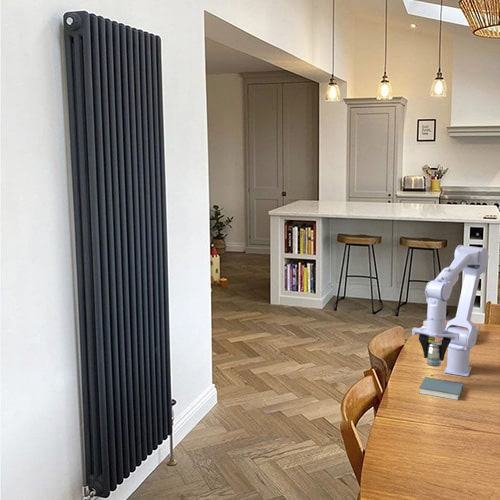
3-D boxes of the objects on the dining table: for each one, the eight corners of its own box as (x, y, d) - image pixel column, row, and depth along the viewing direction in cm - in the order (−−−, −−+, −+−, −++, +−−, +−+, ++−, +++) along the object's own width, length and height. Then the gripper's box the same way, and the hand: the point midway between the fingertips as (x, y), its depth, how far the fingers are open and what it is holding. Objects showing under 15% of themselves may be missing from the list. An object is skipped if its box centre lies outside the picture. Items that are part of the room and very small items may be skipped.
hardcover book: (425, 383, 207) (425, 376, 206) (462, 390, 201) (463, 383, 201) (418, 394, 198) (419, 387, 197) (458, 401, 192) (458, 393, 192)
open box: (437, 328, 269) (438, 319, 268) (479, 333, 261) (480, 324, 260) (430, 339, 254) (430, 329, 253) (474, 345, 246) (474, 335, 245)
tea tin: (427, 361, 206) (429, 340, 204) (442, 363, 204) (443, 342, 202) (424, 365, 202) (426, 344, 200) (439, 367, 199) (440, 346, 198)
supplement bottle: (426, 342, 250) (428, 319, 248) (437, 345, 245) (438, 322, 244) (417, 344, 247) (418, 321, 245) (428, 348, 242) (429, 324, 241)
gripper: (410, 318, 200) (408, 358, 202) (457, 324, 193) (455, 365, 195) (415, 313, 206) (413, 352, 208) (461, 318, 199) (458, 359, 202)
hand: (434, 358), depth 202 cm, fingers closed on tea tin, 4 cm apart
